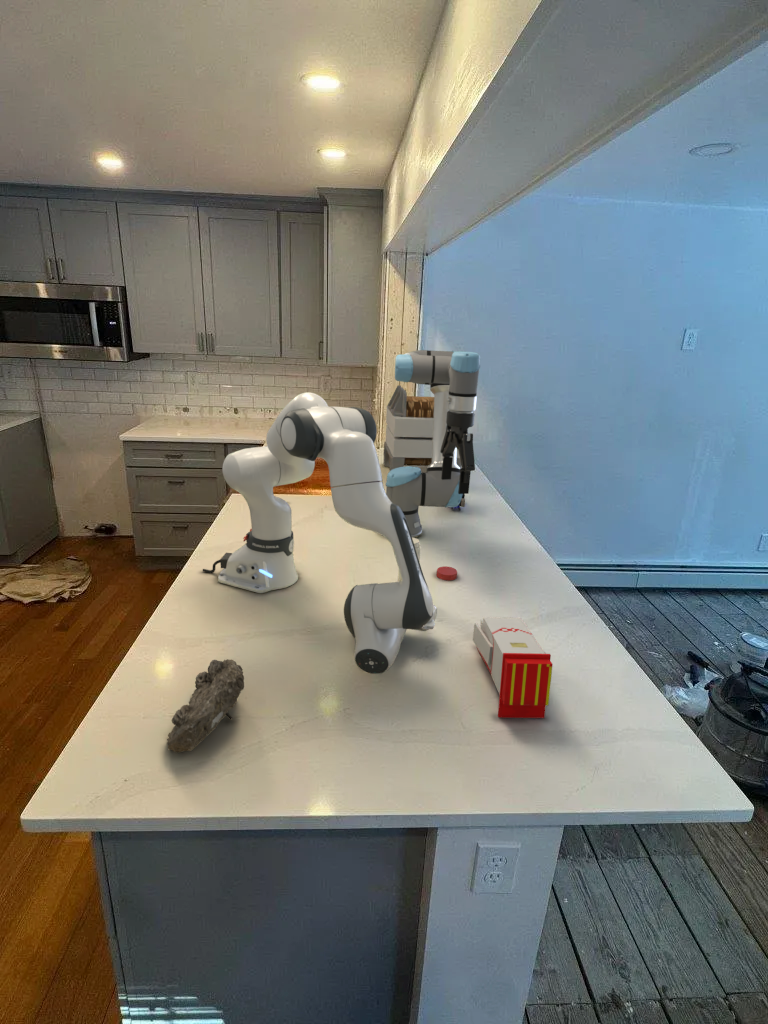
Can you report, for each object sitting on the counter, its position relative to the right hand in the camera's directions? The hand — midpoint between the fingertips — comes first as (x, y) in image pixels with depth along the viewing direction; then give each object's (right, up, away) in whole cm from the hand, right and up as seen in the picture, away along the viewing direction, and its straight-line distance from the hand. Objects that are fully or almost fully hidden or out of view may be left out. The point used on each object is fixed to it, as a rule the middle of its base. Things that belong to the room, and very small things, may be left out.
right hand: (454, 486), depth 161 cm
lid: (-1, -25, +9) cm, 27 cm away
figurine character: (+9, -5, +69) cm, 70 cm away
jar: (-14, -31, -5) cm, 34 cm away
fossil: (-53, -46, -53) cm, 88 cm away
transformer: (-3, +12, +114) cm, 115 cm away
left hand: (-16, -28, -18) cm, 37 cm away
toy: (+7, -43, -37) cm, 57 cm away
